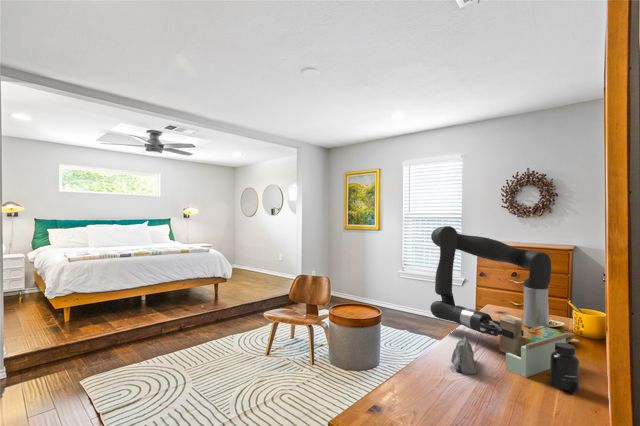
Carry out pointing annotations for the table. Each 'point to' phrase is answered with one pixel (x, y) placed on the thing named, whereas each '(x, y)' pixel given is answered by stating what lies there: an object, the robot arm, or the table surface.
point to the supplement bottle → (564, 368)
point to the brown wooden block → (515, 327)
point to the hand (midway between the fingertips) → (518, 334)
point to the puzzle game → (542, 334)
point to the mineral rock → (463, 357)
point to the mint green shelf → (534, 356)
